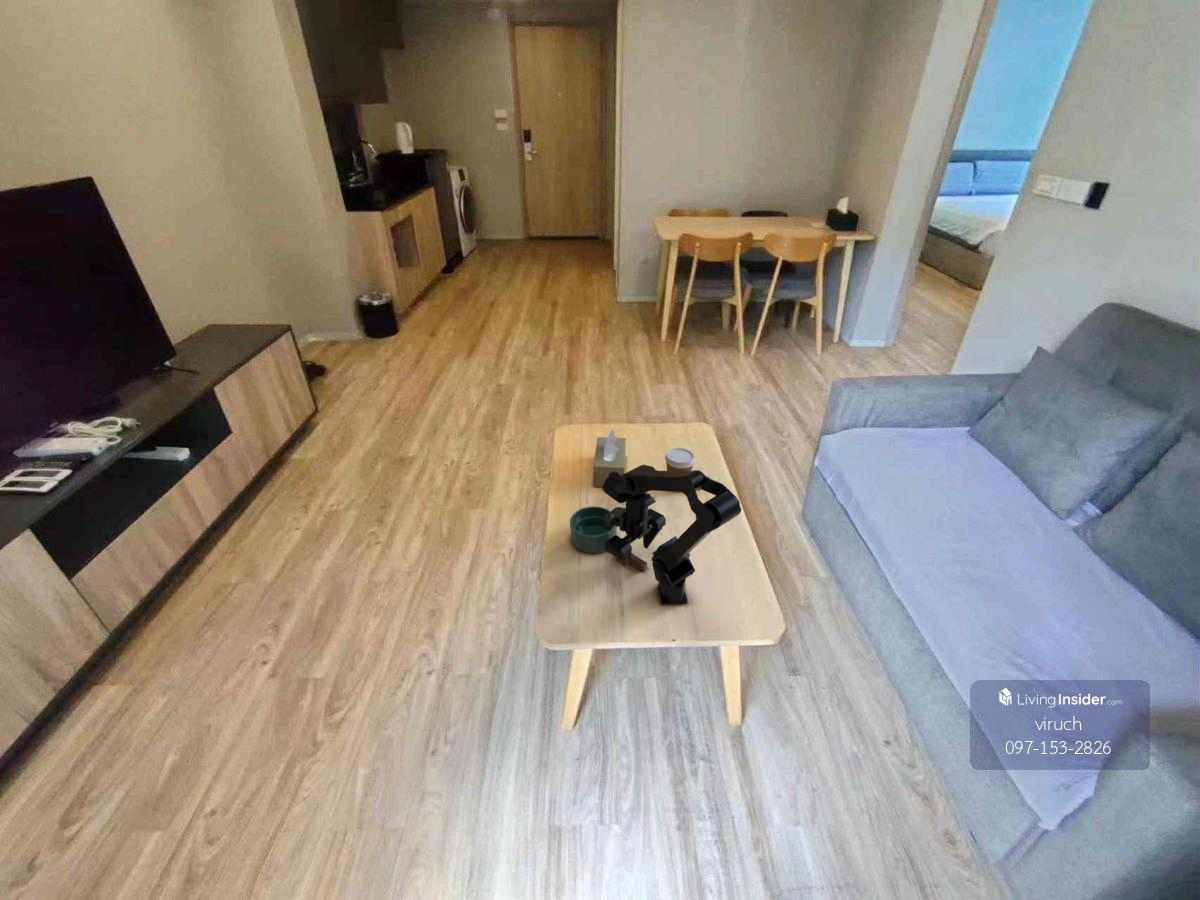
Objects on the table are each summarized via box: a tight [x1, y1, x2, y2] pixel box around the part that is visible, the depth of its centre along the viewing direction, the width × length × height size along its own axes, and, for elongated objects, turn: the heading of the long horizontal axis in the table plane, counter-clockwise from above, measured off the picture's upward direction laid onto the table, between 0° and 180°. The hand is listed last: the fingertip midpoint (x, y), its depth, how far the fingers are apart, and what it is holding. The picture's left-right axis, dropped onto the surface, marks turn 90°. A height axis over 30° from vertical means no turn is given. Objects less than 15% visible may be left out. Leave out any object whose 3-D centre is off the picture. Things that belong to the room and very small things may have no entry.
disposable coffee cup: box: [664, 447, 696, 471], centre depth 170 cm, size 10×10×12 cm
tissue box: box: [592, 429, 627, 488], centre depth 176 cm, size 19×10×16 cm, turn 176°
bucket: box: [569, 505, 618, 554], centre depth 151 cm, size 13×13×6 cm
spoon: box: [628, 553, 648, 572], centre depth 144 cm, size 9×4×2 cm, turn 48°
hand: (635, 556), depth 143 cm, fingers open, 9 cm apart
